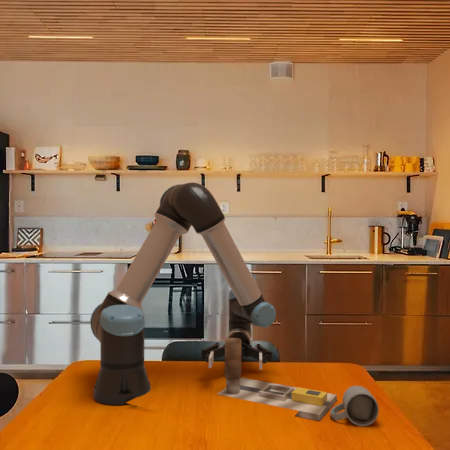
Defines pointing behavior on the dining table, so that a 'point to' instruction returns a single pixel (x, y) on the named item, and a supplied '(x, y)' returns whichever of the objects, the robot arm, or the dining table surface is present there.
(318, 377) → the dining table surface
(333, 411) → the ceramic mug
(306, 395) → the block
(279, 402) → the subfloor panel
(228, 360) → the brown tall rounded piece
